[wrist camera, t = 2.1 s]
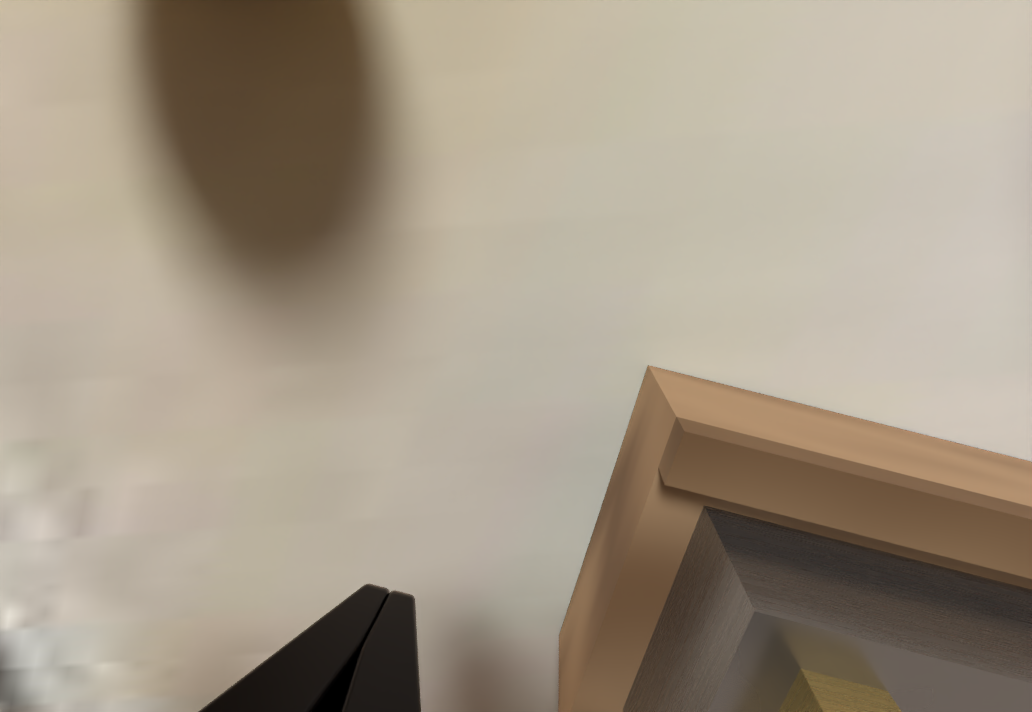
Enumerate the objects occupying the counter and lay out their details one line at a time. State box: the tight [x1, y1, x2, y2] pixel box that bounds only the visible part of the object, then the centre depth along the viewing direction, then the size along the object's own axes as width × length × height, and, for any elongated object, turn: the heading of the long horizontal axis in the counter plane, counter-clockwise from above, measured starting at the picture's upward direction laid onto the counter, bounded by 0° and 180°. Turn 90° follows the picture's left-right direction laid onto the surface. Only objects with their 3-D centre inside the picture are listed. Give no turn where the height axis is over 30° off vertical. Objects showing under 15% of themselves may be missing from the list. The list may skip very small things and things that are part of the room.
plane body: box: [558, 365, 1032, 712], centre depth 11 cm, size 8×15×4 cm, turn 77°
